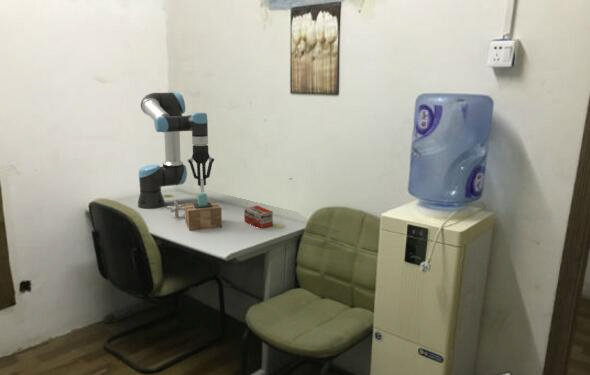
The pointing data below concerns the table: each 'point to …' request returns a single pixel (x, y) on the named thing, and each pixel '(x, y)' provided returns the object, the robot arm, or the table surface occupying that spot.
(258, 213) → the medicine box
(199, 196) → the peg
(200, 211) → the socket block
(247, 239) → the table surface
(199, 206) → the collar
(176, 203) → the pipe connector
